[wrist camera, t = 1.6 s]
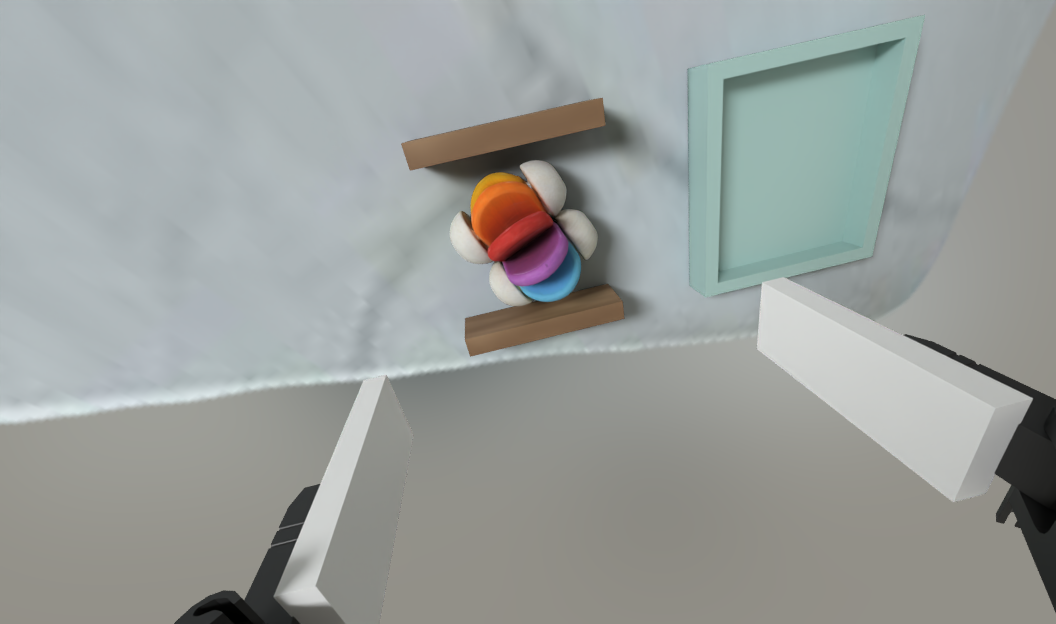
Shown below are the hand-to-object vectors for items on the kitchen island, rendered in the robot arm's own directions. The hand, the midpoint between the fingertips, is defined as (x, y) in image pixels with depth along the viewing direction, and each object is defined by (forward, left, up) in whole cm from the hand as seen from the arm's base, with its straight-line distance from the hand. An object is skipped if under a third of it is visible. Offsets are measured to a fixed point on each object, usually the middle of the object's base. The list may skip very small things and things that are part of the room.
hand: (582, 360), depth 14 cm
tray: (0, +20, -18) cm, 27 cm away
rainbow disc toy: (0, 0, -18) cm, 18 cm away
